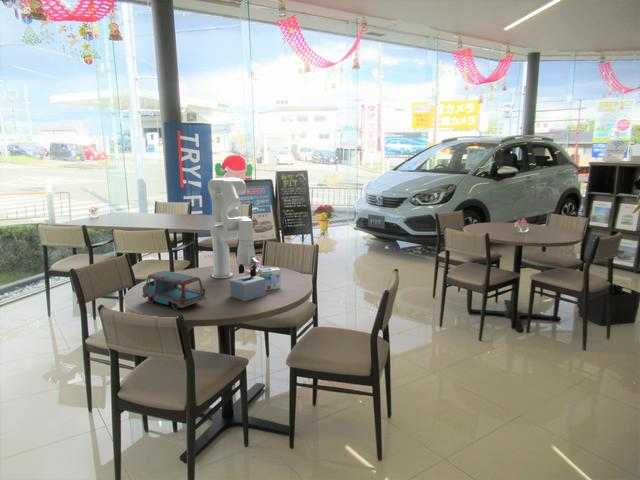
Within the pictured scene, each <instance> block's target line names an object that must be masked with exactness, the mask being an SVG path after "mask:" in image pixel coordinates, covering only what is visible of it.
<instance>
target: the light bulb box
mask: <svg viewBox="0 0 640 480" xmlns="http://www.w3.org/2000/svg"><path fill="white" fill-rule="evenodd" d="M259 277H262V278H265V286H266V291H268V290H270V291H271V290H276V289H281V284H282V283H281V279H282V278H281V269H280V268H279V267H277V266H274V267H266V268H265V267H264V268H259Z"/></svg>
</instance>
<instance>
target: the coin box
mask: <svg viewBox="0 0 640 480" xmlns="http://www.w3.org/2000/svg"><path fill="white" fill-rule="evenodd" d="M266 292H267V290H266V286H265V278H262V277H260V276H257V275H256V276H254V277H250V274H247V275H243V276H240V277H235V278H231V279H229V293H230V295H229V296H230V297H231V298H234V299H237V300H240V301H242V302H248V301H250V300H255V299H257V298H261V297H264V296H266V294H267V293H266Z"/></svg>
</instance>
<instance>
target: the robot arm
mask: <svg viewBox="0 0 640 480" xmlns="http://www.w3.org/2000/svg"><path fill="white" fill-rule="evenodd" d="M207 190H208V193H209V196H210V198H211V216H212V220H213V222H215V223H219V224H214V225H213V226H212V227H211V228H210V233H209V234H210V237H211V242H212V252H213V253H212V254H213V255H212V256H213V268H211V271H212V272H213V273H211V277H212V278H214V279H227V278H232V277H233V276H234V272H232V271H231V263H230V262H231V260H230V247H229V245H228V244H227V242H226V241H227V240H235V239H238V245H237V250H236V251H237V252H236V255H237V256H235V259H236V263H237V267H238V274H239V275H241V274H244V273H245V266H249V268H250V269H249V271H250V273H249V275H250V277H254V276H257V268H258V265H259V261H258V260H257V259H256V251H255V247H254V245H255V244H254V225H253V223H254V221H253V219H252V218H249V216H246V215H245V216H241V215H240V210H239V208H238V207H239V206H240V205H241V203H242V201H241V198H240V195H244V194H245V193H246V191H247V184H246V182H245V181H244V179H242V178H238V177H219V178H217V177H216V178H211V179H209V180H208V183H207Z"/></svg>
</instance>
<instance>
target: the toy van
mask: <svg viewBox="0 0 640 480" xmlns="http://www.w3.org/2000/svg"><path fill="white" fill-rule="evenodd" d="M151 279H152V281H151ZM195 282H199V290H197V289H194V288H193V289H189V288H188V287H186V286H187V285H190V284H192V283H195ZM205 293H206V289H205V288H204V286H203V285H202V281H201V279H200V277H198V276H192V275H188V274H185V273H184V274H183V273H179V272H174V271H168V270H161V271H156V272H153V273H151V274H149V275H148V276H147V278H146V283H145V284H144V285H143V286H142V296H141V297H142V298H143V299H145V298H147V301H148V302H149V304H154V303H158V304H159V303H160V304H164V305H167V306H169V305H171V308H172V309H173V310H174V311H179V310H180V308H186V307H189V306H191V305H194V304H197V303H199V302H202V301H204V300H206V299H207V296H206V295H205Z"/></svg>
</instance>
